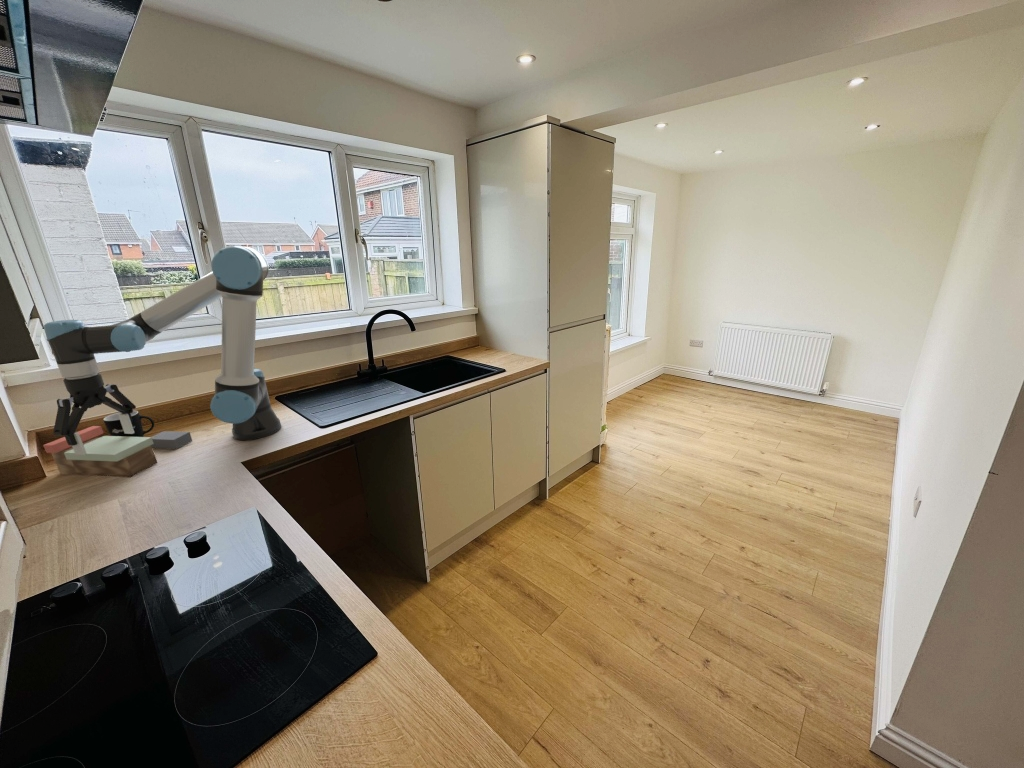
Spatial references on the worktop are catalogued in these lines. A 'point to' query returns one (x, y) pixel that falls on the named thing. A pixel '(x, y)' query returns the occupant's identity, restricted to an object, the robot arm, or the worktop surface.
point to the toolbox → (106, 464)
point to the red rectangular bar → (62, 445)
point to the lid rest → (171, 440)
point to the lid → (111, 448)
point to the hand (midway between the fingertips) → (106, 443)
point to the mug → (116, 428)
